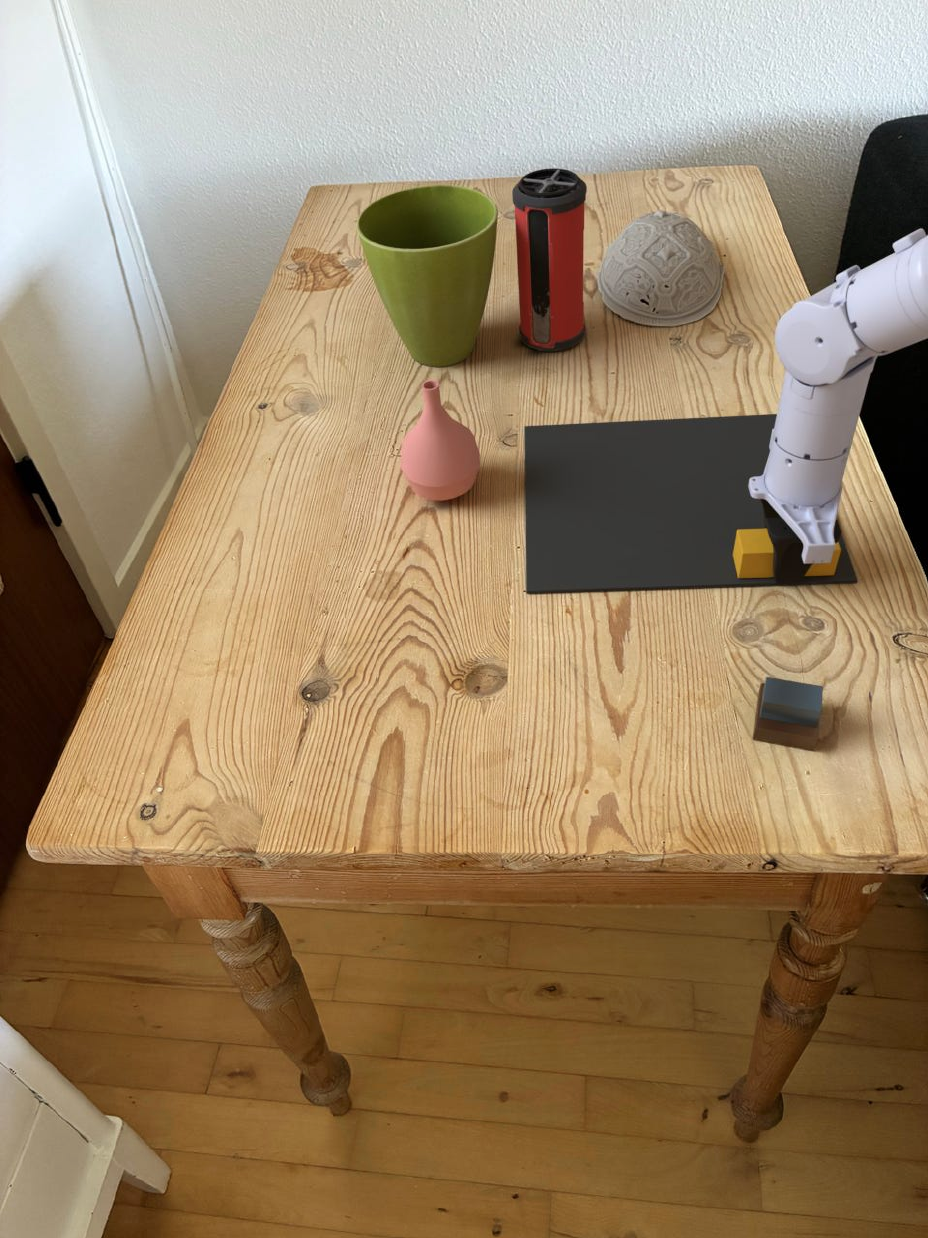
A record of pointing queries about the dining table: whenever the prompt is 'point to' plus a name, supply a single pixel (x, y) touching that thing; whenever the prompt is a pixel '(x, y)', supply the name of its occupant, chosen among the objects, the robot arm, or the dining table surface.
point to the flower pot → (432, 266)
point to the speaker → (550, 258)
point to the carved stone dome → (661, 271)
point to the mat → (646, 504)
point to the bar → (768, 556)
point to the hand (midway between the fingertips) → (783, 565)
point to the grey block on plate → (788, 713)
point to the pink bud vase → (439, 451)
